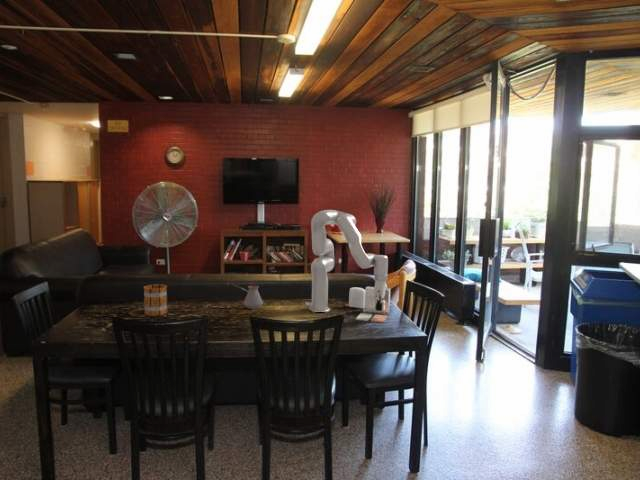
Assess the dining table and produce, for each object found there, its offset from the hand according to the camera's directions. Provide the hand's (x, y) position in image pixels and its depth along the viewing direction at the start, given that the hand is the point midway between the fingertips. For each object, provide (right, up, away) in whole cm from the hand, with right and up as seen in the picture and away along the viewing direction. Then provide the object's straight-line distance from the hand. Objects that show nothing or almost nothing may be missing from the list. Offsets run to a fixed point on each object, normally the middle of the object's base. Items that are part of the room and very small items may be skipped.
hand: (379, 308), depth 277 cm
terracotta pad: (0, -6, +1) cm, 6 cm away
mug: (-127, -3, +8) cm, 127 cm away
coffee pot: (-79, -2, +21) cm, 82 cm away
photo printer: (-11, -3, +26) cm, 28 cm away
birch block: (0, 0, 0) cm, 1 cm away
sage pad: (-8, -5, +3) cm, 11 cm away
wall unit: (0, -4, +15) cm, 16 cm away
